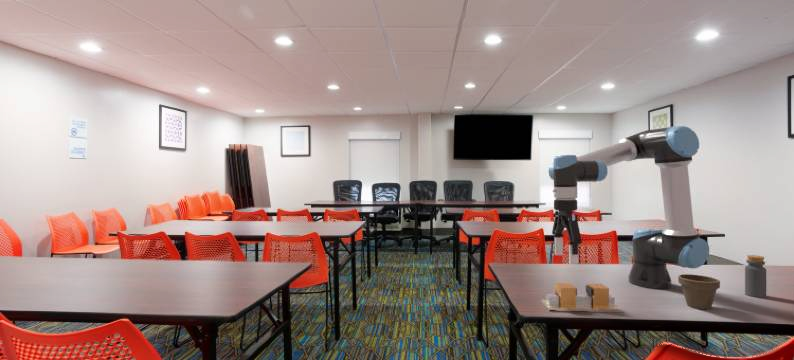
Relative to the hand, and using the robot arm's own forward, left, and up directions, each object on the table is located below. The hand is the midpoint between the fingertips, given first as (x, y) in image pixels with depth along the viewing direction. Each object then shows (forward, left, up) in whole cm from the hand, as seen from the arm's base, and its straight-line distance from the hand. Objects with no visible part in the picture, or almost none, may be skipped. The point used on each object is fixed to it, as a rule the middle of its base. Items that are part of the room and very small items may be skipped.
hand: (566, 259), depth 131 cm
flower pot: (-46, -2, -17) cm, 49 cm away
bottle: (-75, -15, -17) cm, 79 cm away
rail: (-5, 0, -17) cm, 17 cm away
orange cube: (0, 0, -16) cm, 16 cm away
